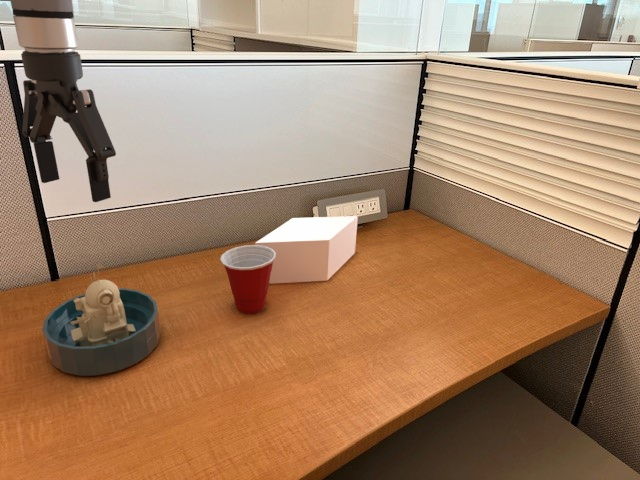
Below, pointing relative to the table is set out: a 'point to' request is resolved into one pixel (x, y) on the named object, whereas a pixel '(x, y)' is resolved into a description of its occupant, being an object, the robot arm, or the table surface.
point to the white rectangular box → (310, 248)
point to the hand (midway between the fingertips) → (75, 190)
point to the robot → (100, 315)
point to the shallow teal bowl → (105, 356)
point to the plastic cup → (249, 275)
